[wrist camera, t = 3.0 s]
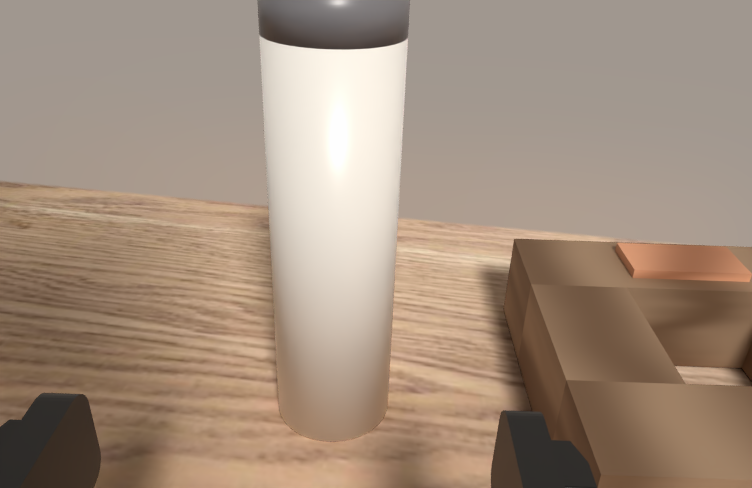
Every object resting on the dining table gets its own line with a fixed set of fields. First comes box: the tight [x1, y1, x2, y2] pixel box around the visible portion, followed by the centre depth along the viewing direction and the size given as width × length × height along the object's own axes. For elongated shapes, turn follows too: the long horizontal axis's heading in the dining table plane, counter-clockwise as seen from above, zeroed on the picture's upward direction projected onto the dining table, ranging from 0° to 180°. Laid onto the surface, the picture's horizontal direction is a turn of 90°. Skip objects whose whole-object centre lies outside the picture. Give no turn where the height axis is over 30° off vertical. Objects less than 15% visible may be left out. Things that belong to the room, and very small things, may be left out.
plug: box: [258, 0, 410, 442], centre depth 22 cm, size 4×4×16 cm
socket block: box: [504, 239, 752, 488], centre depth 25 cm, size 14×14×4 cm
